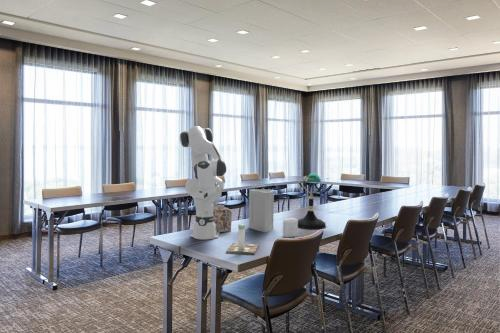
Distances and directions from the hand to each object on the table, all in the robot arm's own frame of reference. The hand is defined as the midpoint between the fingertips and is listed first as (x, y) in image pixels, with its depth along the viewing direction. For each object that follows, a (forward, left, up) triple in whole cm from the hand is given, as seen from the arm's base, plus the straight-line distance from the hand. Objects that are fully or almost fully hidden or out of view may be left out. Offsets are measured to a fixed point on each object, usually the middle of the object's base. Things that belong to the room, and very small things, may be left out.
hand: (210, 210), depth 224 cm
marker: (+2, +19, -21) cm, 29 cm away
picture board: (-2, +19, -23) cm, 30 cm away
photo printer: (-41, +44, -23) cm, 64 cm away
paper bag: (-61, +24, -23) cm, 70 cm away
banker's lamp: (-78, +57, -23) cm, 99 cm away
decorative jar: (-46, -6, -23) cm, 52 cm away
